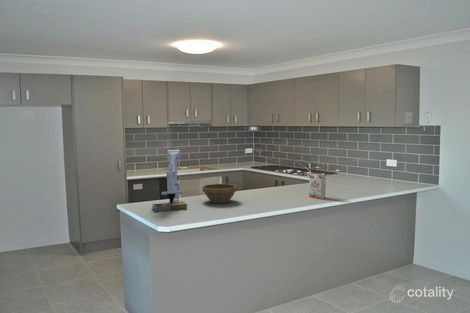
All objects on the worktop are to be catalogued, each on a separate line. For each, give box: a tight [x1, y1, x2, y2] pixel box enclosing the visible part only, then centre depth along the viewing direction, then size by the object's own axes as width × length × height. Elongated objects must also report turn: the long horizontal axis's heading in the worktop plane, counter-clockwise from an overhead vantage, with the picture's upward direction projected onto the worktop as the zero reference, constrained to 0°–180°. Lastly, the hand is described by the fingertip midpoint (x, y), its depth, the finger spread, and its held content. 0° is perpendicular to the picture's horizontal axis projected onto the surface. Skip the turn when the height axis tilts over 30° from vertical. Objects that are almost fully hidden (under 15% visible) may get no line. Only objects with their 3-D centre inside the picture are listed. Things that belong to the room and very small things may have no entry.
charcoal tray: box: [152, 202, 172, 213], centre depth 315 cm, size 12×12×4 cm
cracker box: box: [308, 172, 327, 200], centre depth 360 cm, size 14×6×21 cm, turn 37°
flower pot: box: [202, 183, 238, 204], centre depth 344 cm, size 28×28×13 cm
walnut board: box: [167, 200, 188, 211], centre depth 320 cm, size 12×12×4 cm
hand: (171, 203), depth 315 cm, fingers closed
